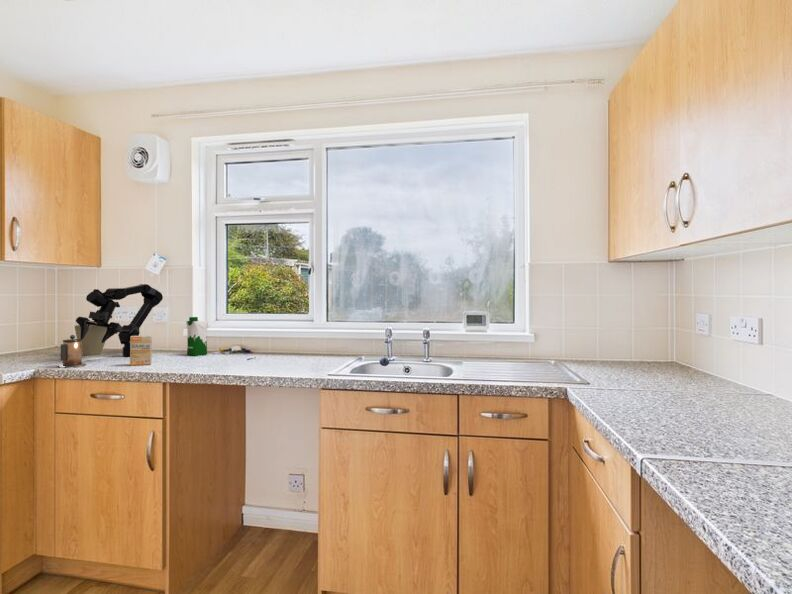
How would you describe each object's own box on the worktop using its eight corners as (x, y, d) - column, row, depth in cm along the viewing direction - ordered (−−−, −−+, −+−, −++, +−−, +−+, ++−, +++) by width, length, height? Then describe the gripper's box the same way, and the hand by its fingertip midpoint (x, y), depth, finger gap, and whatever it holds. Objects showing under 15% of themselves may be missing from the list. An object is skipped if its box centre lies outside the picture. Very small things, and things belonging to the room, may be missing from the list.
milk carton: (184, 355, 227) (184, 317, 227) (200, 353, 235) (200, 316, 235) (194, 356, 222) (194, 317, 222) (210, 354, 230) (210, 316, 230)
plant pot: (67, 356, 226) (67, 325, 226) (97, 352, 240) (96, 323, 240) (86, 357, 221) (86, 326, 221) (115, 353, 234) (115, 324, 234)
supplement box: (129, 366, 192) (129, 336, 192) (131, 364, 196) (131, 335, 196) (151, 365, 196) (151, 335, 196) (152, 363, 200) (151, 334, 200)
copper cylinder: (72, 363, 196) (72, 334, 196) (85, 363, 195) (85, 334, 195) (55, 366, 188) (55, 335, 188) (68, 366, 187) (68, 336, 187)
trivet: (84, 363, 199) (84, 362, 199) (87, 366, 192) (87, 365, 192) (57, 366, 193) (57, 364, 193) (58, 368, 185) (58, 367, 185)
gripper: (78, 300, 203) (62, 330, 196) (120, 307, 205) (106, 338, 198) (88, 310, 213) (73, 340, 205) (128, 317, 215) (115, 346, 208)
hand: (91, 341), depth 204 cm, fingers open, 9 cm apart
